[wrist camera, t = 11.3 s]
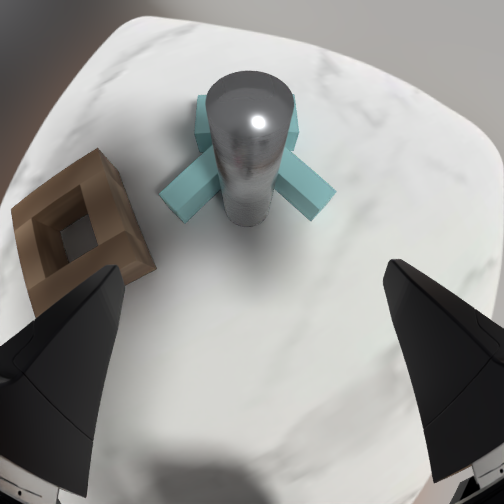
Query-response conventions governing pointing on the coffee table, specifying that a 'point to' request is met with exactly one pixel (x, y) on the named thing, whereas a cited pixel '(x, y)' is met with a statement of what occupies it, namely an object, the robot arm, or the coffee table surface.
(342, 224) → the coffee table surface
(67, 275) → the brown square frame
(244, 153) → the axle
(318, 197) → the teal y-shaped block
